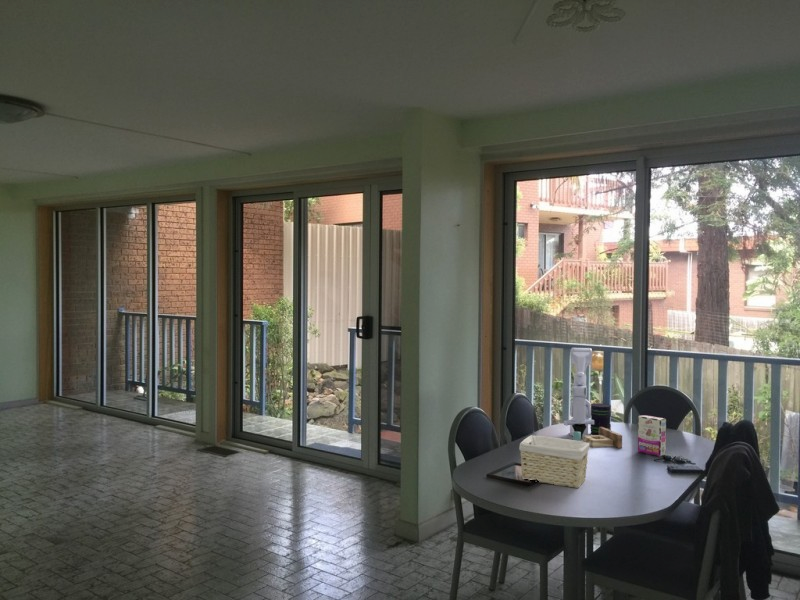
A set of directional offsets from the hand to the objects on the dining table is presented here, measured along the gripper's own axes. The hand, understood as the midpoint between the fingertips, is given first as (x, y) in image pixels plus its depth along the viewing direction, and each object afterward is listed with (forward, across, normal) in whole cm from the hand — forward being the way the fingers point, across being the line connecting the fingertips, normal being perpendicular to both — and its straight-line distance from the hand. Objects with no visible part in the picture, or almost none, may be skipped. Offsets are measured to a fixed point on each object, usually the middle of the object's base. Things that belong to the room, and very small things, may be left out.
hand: (578, 439), depth 297 cm
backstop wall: (+2, +16, 0) cm, 16 cm away
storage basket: (+2, -35, -49) cm, 60 cm away
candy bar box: (+2, +25, -20) cm, 32 cm away
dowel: (+2, -5, -8) cm, 10 cm away
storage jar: (+3, +21, +18) cm, 28 cm away
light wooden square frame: (+2, +10, 0) cm, 10 cm away
